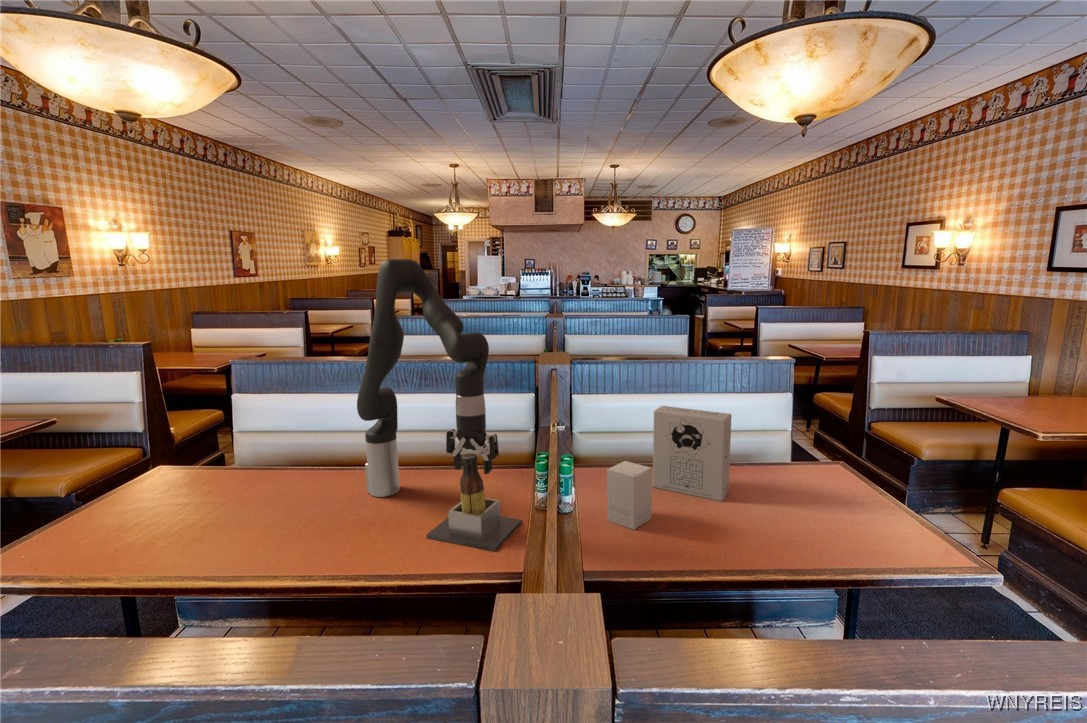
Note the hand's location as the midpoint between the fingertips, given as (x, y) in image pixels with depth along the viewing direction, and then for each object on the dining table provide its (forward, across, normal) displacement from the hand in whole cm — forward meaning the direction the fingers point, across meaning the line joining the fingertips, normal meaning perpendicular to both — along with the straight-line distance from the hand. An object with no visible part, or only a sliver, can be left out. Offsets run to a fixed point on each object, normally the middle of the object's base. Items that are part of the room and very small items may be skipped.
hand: (472, 471), depth 140 cm
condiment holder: (+17, 0, 0) cm, 17 cm away
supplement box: (+17, +37, +20) cm, 45 cm away
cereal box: (+17, +50, +46) cm, 70 cm away
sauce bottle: (+16, 0, 0) cm, 16 cm away
